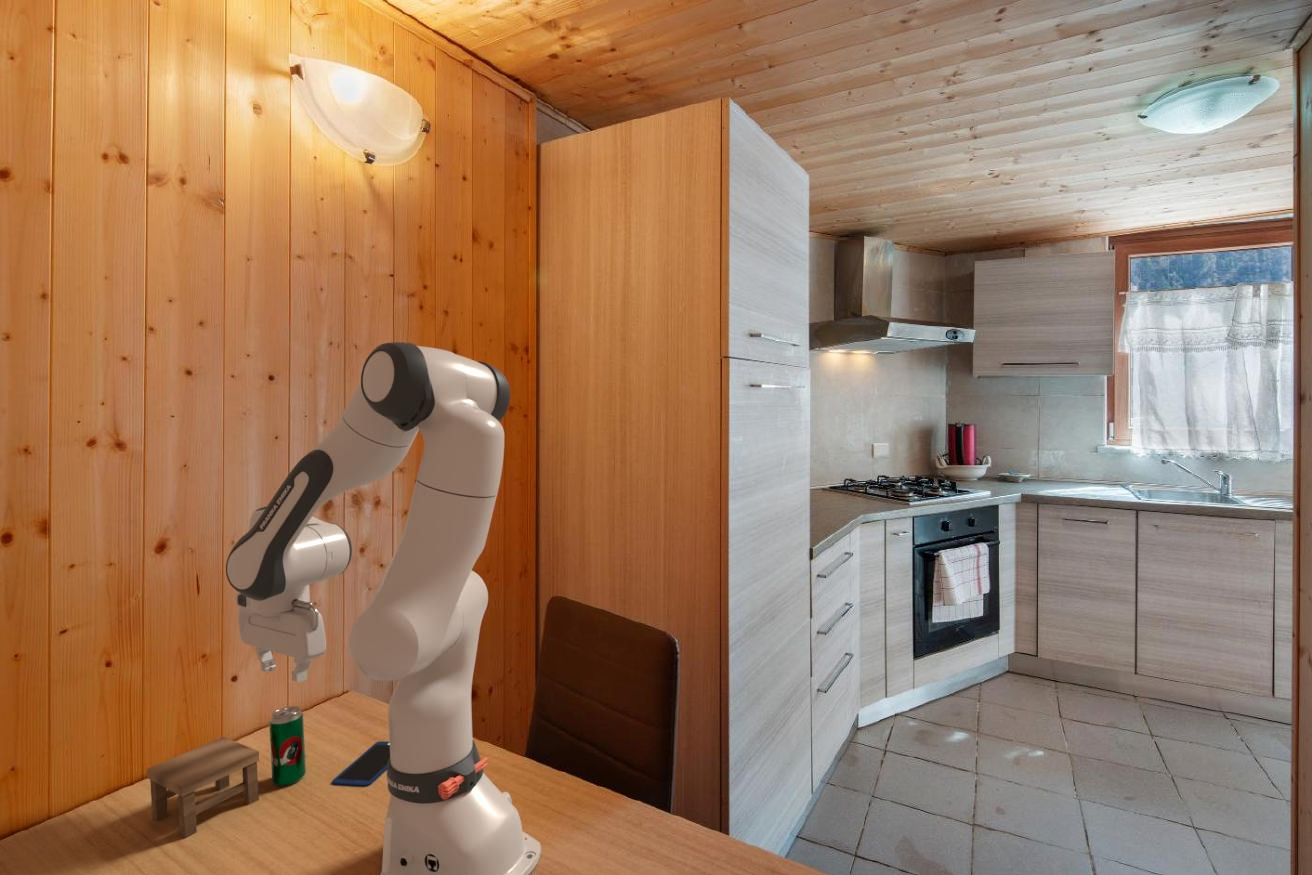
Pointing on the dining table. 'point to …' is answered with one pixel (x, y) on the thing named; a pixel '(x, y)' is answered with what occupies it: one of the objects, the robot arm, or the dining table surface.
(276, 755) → the soda can
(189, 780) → the stool
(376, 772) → the cell phone
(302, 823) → the dining table surface
